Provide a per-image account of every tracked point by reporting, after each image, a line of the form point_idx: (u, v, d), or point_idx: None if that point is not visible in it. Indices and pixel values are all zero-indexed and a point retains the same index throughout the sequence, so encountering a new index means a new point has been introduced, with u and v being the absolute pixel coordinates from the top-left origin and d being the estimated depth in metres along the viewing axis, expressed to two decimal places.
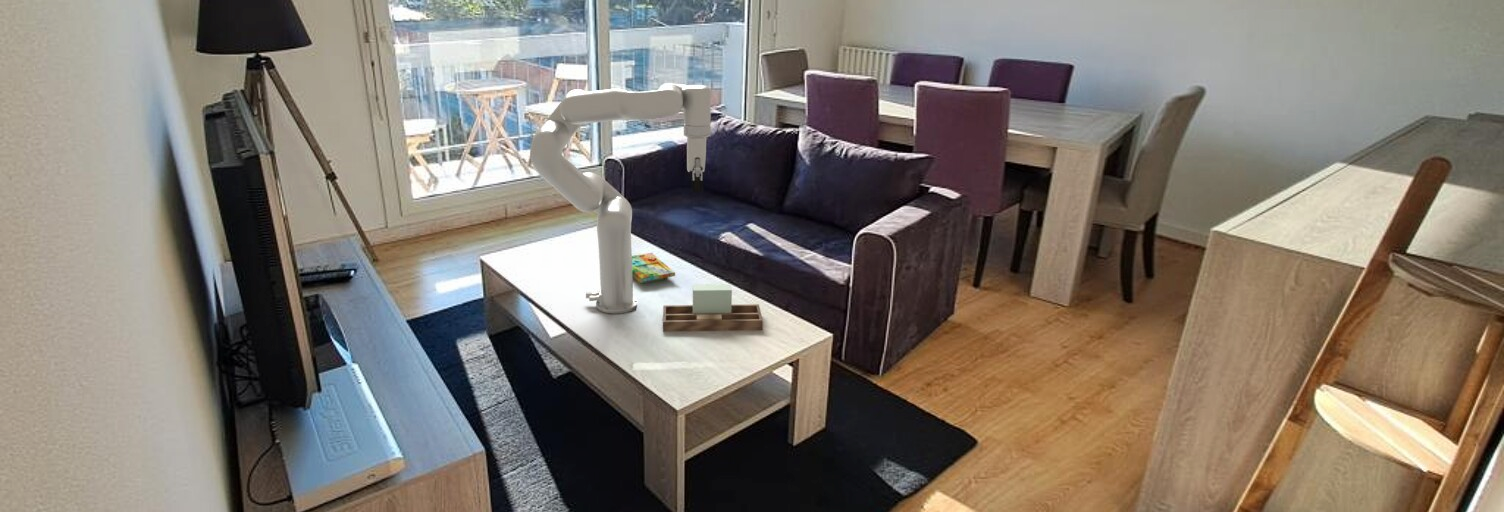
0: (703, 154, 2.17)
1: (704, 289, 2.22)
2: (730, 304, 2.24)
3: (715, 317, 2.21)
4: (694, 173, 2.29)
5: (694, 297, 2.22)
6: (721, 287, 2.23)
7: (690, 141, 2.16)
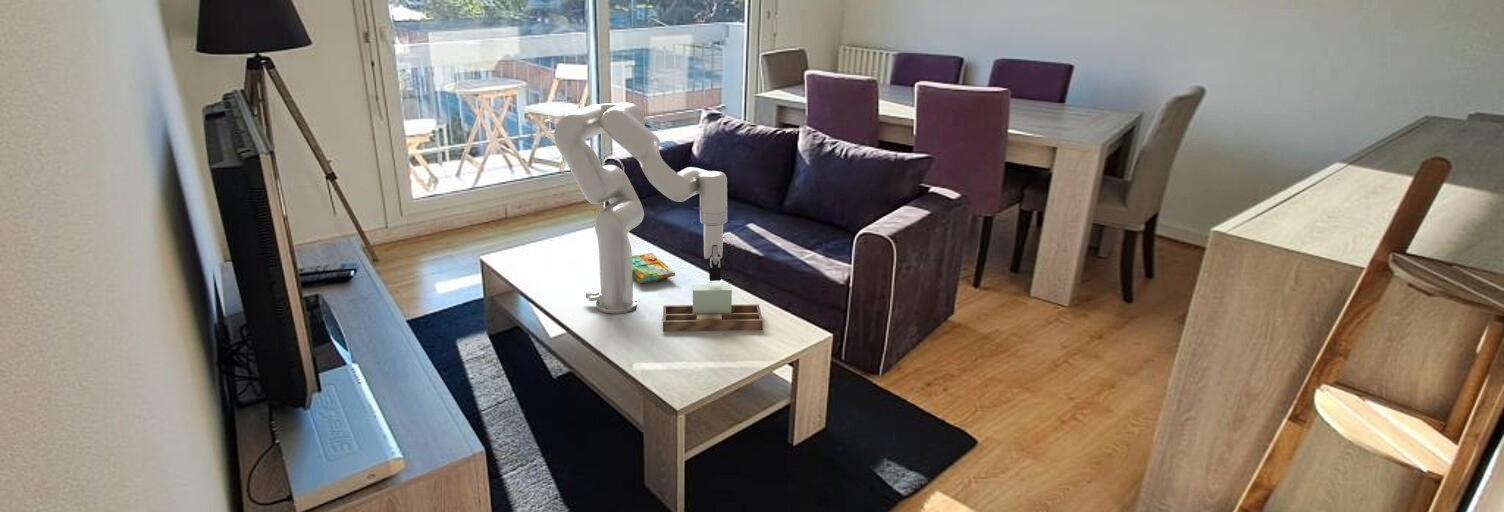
0: (720, 241, 2.13)
1: (704, 289, 2.22)
2: (730, 304, 2.24)
3: (715, 317, 2.21)
4: None
5: (694, 297, 2.22)
6: (721, 287, 2.23)
7: (707, 229, 2.12)
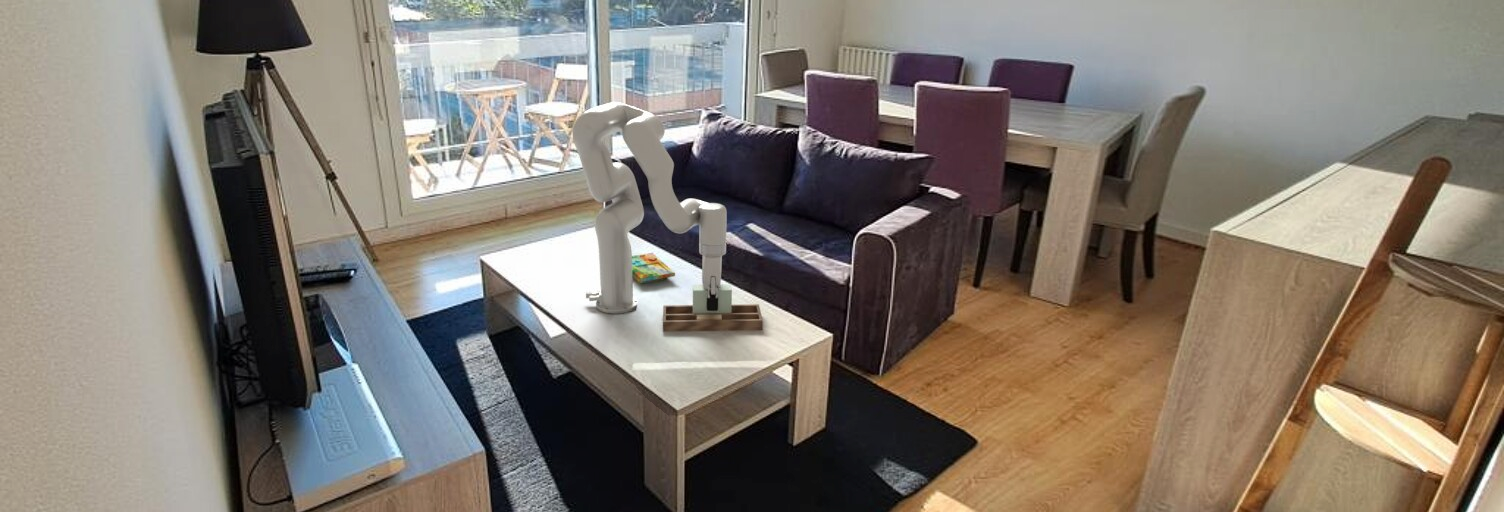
0: (719, 273, 2.17)
1: (704, 289, 2.22)
2: (730, 304, 2.24)
3: (715, 317, 2.21)
4: None
5: (694, 297, 2.22)
6: (721, 287, 2.23)
7: (706, 260, 2.16)
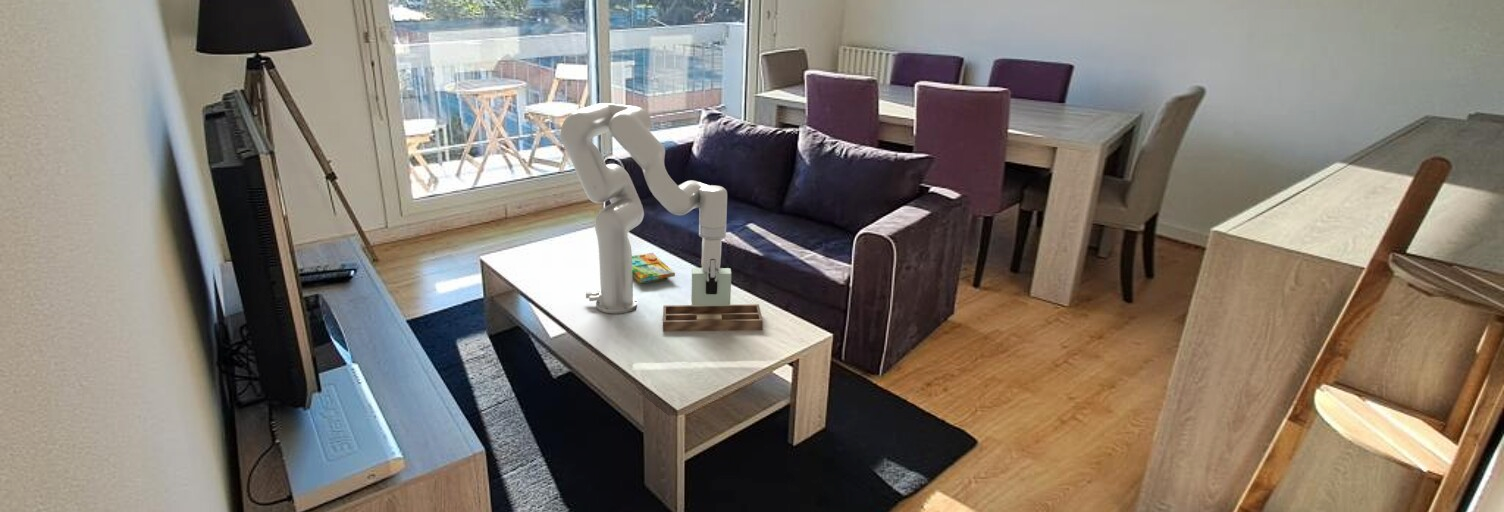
0: (718, 256, 2.15)
1: (703, 272, 2.20)
2: (729, 288, 2.22)
3: (715, 317, 2.21)
4: None
5: (693, 280, 2.20)
6: (720, 271, 2.22)
7: (706, 243, 2.14)
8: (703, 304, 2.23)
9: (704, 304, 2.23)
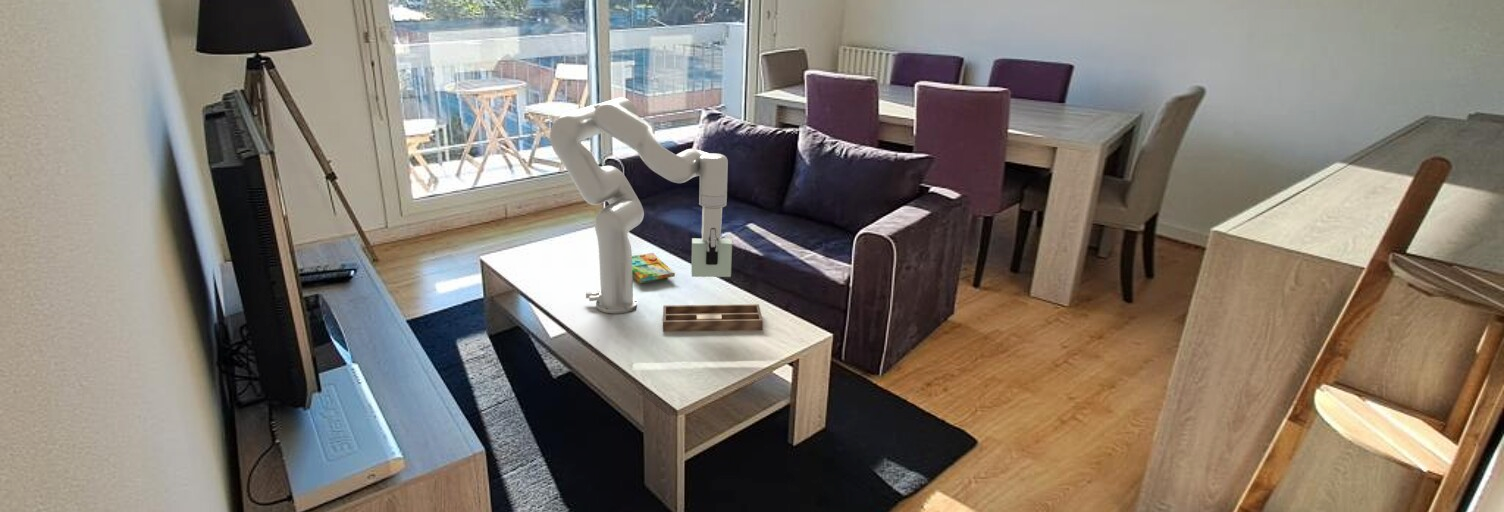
0: (719, 225, 2.12)
1: (703, 242, 2.17)
2: (730, 259, 2.19)
3: (715, 317, 2.21)
4: None
5: (693, 250, 2.17)
6: (721, 241, 2.19)
7: (706, 211, 2.11)
8: (703, 275, 2.20)
9: (704, 275, 2.20)
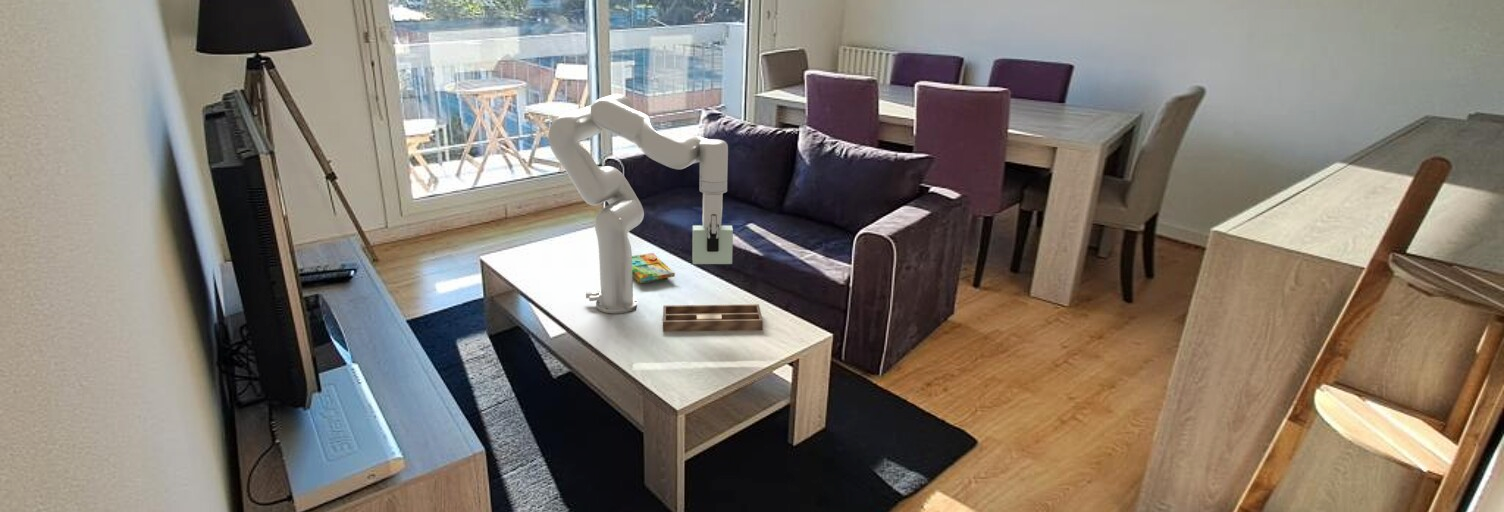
0: (720, 211, 2.10)
1: (704, 229, 2.15)
2: (731, 246, 2.17)
3: (715, 317, 2.21)
4: None
5: (694, 237, 2.15)
6: (722, 227, 2.17)
7: (706, 198, 2.09)
8: (704, 262, 2.18)
9: (705, 262, 2.18)
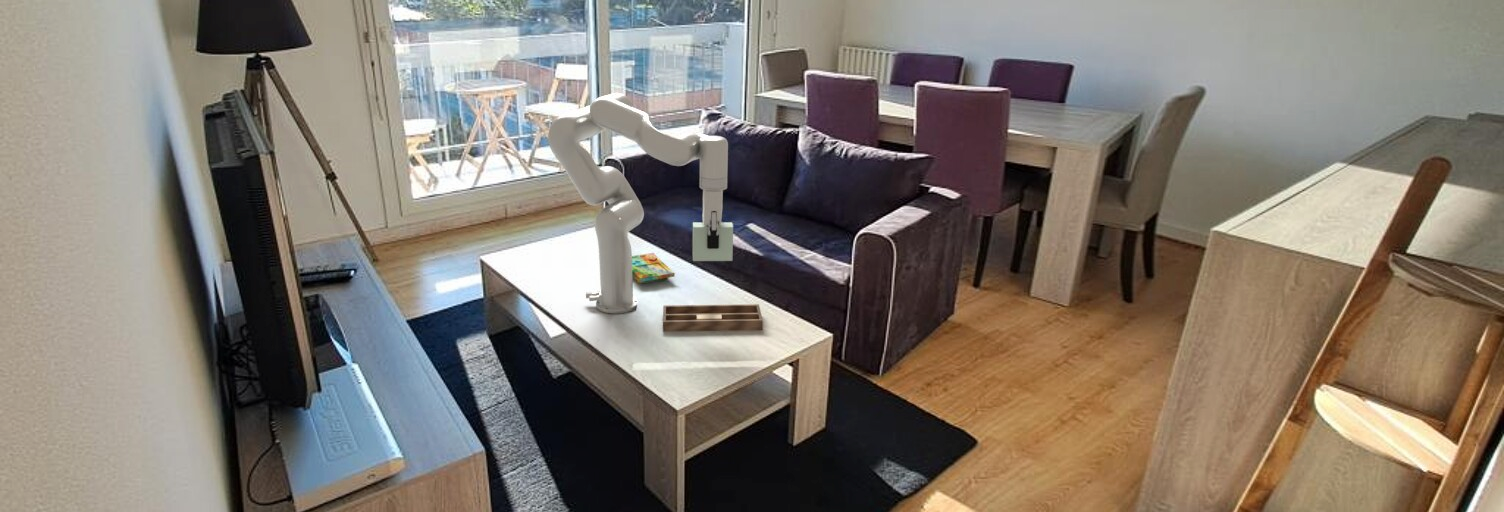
0: (720, 207, 2.10)
1: (704, 226, 2.15)
2: (731, 242, 2.17)
3: (715, 317, 2.21)
4: None
5: (694, 234, 2.15)
6: (722, 224, 2.17)
7: (706, 194, 2.09)
8: (705, 259, 2.18)
9: (706, 259, 2.18)
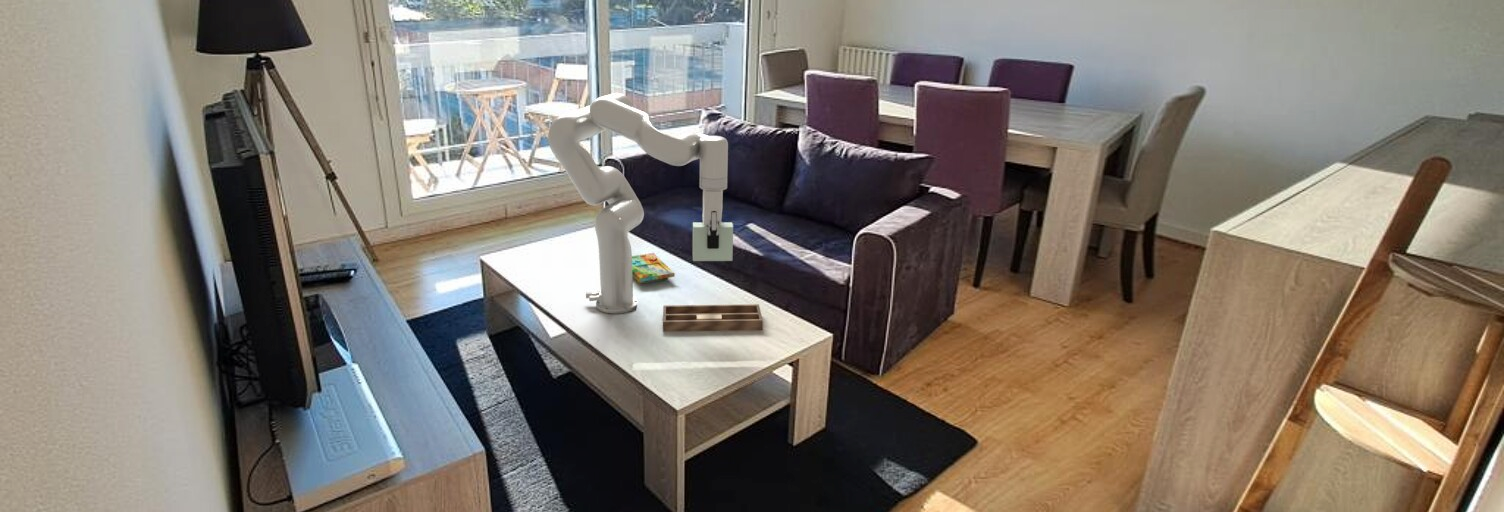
0: (720, 207, 2.10)
1: (704, 226, 2.15)
2: (731, 242, 2.17)
3: (715, 317, 2.21)
4: None
5: (694, 234, 2.15)
6: (722, 224, 2.17)
7: (706, 194, 2.09)
8: (705, 259, 2.18)
9: (706, 259, 2.18)
